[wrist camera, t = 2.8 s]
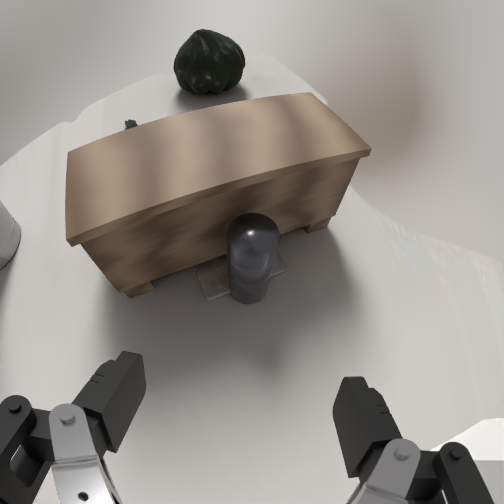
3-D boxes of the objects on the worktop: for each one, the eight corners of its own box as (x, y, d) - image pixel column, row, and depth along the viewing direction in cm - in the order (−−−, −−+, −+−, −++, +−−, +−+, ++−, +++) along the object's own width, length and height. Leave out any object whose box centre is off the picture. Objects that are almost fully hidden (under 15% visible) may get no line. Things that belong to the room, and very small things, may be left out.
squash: (249, 51, 54) (205, 11, 42) (265, 77, 47) (213, 27, 35) (204, 87, 60) (158, 53, 49) (210, 119, 53) (155, 80, 42)
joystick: (215, 318, 28) (207, 275, 20) (179, 228, 34) (165, 167, 25) (293, 287, 31) (316, 235, 22) (247, 206, 36) (252, 144, 27)
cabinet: (122, 305, 28) (66, 239, 17) (107, 228, 33) (67, 152, 22) (335, 226, 35) (371, 148, 24) (293, 169, 40) (310, 92, 29)
